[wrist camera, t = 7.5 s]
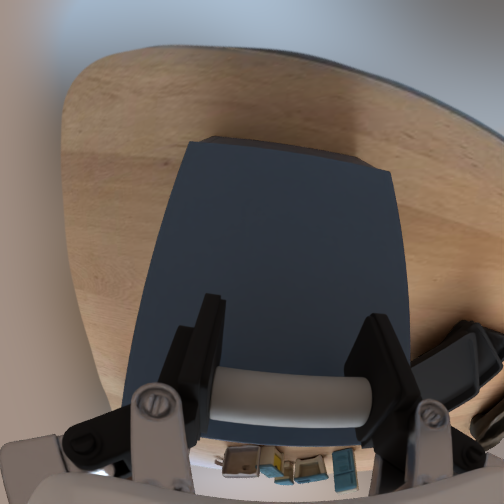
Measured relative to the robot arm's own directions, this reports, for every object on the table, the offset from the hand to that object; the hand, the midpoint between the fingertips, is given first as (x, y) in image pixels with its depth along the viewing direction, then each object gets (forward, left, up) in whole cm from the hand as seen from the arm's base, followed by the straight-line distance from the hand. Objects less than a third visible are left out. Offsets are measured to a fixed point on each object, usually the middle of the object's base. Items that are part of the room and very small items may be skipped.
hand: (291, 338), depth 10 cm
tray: (+40, 0, -20) cm, 44 cm away
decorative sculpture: (+33, -47, -20) cm, 60 cm away
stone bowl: (+78, +4, -20) cm, 80 cm away
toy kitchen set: (+42, -34, -20) cm, 57 cm away
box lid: (0, 0, -5) cm, 5 cm away
